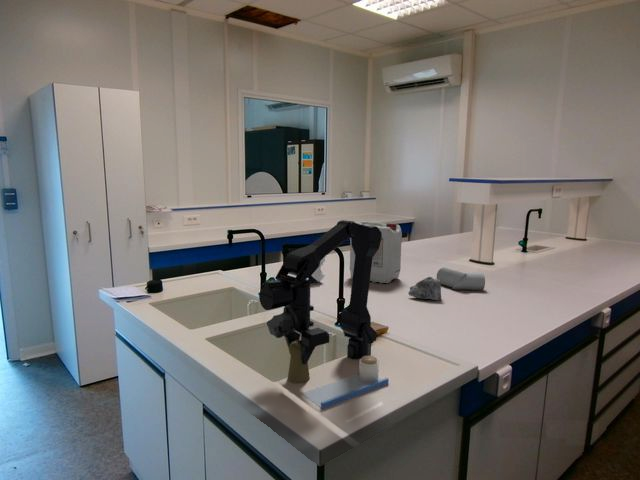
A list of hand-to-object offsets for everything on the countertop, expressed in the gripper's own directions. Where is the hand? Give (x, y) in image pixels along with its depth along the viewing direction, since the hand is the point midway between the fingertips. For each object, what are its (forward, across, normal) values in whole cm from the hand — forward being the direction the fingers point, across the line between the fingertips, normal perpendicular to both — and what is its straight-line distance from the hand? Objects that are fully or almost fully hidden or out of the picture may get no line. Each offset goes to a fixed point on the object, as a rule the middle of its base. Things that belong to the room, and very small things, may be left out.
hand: (298, 360), depth 113 cm
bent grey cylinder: (+6, -37, +119) cm, 125 cm away
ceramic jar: (+5, +11, +14) cm, 19 cm away
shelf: (+6, +11, +6) cm, 14 cm away
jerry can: (+6, -73, +97) cm, 122 cm away
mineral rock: (+6, -33, +90) cm, 96 cm away
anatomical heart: (+6, -85, +68) cm, 109 cm away
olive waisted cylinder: (+6, 0, 0) cm, 6 cm away
